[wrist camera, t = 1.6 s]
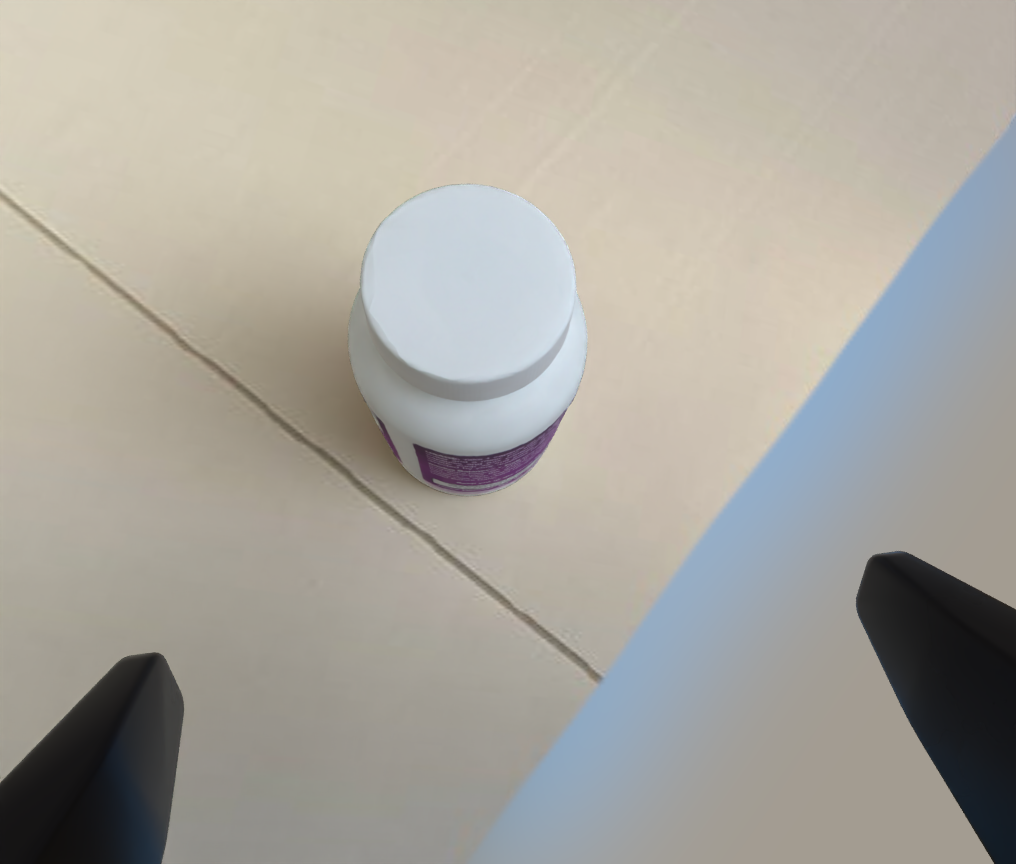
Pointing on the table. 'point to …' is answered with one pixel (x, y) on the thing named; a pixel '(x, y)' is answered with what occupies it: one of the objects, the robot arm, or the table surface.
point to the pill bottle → (467, 336)
